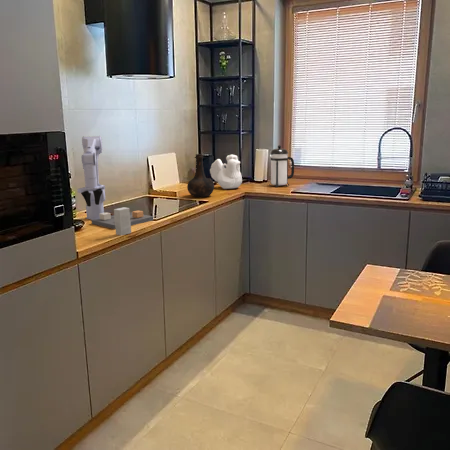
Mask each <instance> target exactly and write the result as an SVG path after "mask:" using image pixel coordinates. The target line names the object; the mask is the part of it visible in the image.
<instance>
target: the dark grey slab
mask: <svg viewBox="0 0 450 450" xmlns="http://www.w3.org/2000/svg"><path fill="white" fill-rule="evenodd" d="M132 212H133V211H130V222H131V227H132V226H135V225H139V224H143V223H147V222H152V221H154V216H153V215H147V214H143V217H139V218H135V217H132ZM90 221H91V224H92V225H95V226H99V227H100V226H101V227H103V228H108V229H113V230H116V229H115V218H114V214H113V215H111V219H107V220H102V219H100V218H98V219H94V220H91V219H90Z"/></svg>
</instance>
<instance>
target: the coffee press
mask: <svg viewBox="0 0 450 450" xmlns="http://www.w3.org/2000/svg"><path fill="white" fill-rule="evenodd" d="M281 147H282V146H281V145H280V144H279V145H278V146H277V148H273V149H271V151H270V155H269V157H270V183H269V186H270V187H271V186H275V188H278V187H279V186H286V187H287V188H288V187H289V186H290V184H289V182H288V180H289V179H293V177H294V175H295V160H294V159H293V157H292V156H288V154H289V151H288V150H287V149H286V148H281ZM289 160H290V161H291V167H290V168H291V169H290V170H291V171H290V172H291V174H290V175H289V176H288V173H289V172H288V170H289V168H288V167H289V165H288V164H289Z"/></svg>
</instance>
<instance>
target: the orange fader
mask: <svg viewBox="0 0 450 450" xmlns="http://www.w3.org/2000/svg"><path fill="white" fill-rule="evenodd" d="M131 212H132V217H135V218H139V217H143V215H144V211H143V210H134V211H131Z"/></svg>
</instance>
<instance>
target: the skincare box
mask: <svg viewBox="0 0 450 450" xmlns="http://www.w3.org/2000/svg"><path fill="white" fill-rule="evenodd" d="M130 212H131V211H130V207H126V206H125V207H117V208H114V209H113V215H114V218H115V229H114V230H115V235H117V236H120V237H121V236H125V235H128V234H129V235H130V234H132V226H131V222H130Z"/></svg>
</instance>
